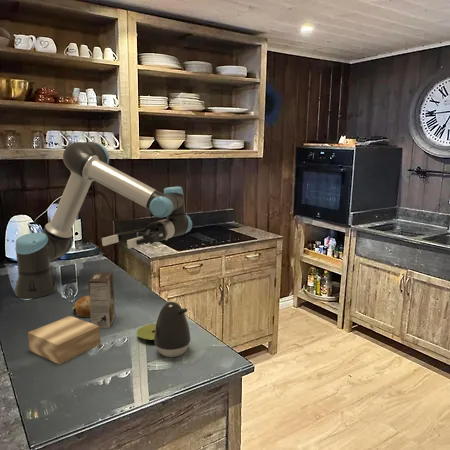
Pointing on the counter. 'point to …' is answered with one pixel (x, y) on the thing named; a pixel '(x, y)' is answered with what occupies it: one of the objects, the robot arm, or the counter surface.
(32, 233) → the robot arm
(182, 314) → the pump dispenser
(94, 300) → the coffee box
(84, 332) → the oak block
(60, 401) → the counter surface
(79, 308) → the bread roll
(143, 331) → the green textured disc
